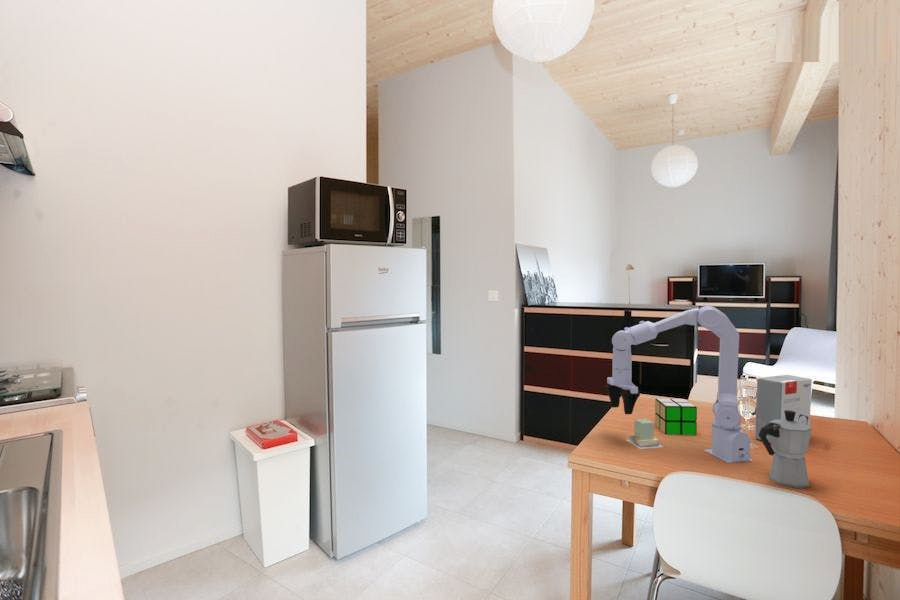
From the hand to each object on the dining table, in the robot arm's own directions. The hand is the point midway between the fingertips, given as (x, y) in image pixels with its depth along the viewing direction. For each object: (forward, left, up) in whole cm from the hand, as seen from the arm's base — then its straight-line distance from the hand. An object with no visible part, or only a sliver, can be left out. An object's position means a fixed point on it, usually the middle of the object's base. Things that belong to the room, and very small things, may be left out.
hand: (621, 410), depth 142 cm
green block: (-4, -5, -7) cm, 10 cm away
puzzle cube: (+5, -23, -10) cm, 26 cm away
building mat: (-5, -8, -10) cm, 13 cm away
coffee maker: (-34, -25, -10) cm, 43 cm away
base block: (-4, -5, -9) cm, 12 cm away
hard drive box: (-9, -51, -10) cm, 53 cm away
